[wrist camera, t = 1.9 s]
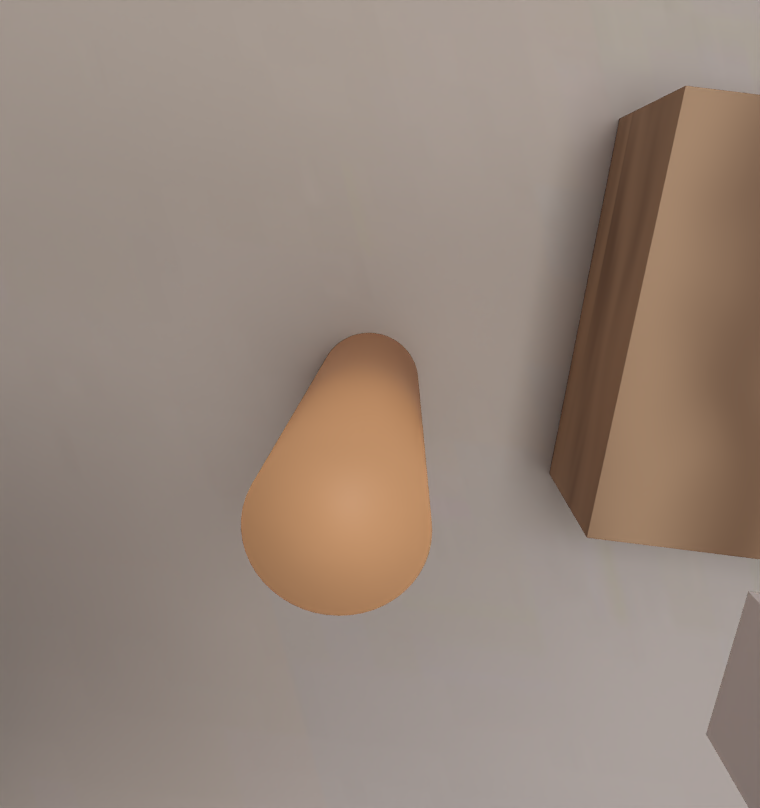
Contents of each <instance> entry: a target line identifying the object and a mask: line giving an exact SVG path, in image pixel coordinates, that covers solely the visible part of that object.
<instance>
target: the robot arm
mask: <svg viewBox="0 0 760 808" xmlns="http://www.w3.org/2000/svg"><path fill="white" fill-rule="evenodd" d="M706 735H707V736H708V738H709V740H710V742H711V743H712V745H713V747H714V748H715V750H716V752H717V754H718V755H719V757H720V759H721V761H722V762H723V764H724V766H725V767H726V769H727V771H728V773H729V774H730V776H731V778H732V780H733V781H734V783H735V785H736V786H737V788H738V790H739V792H740V793H741V795H742V797H743V799H744V800H745V802H746V804H747V805H748V807H749V808H760V593H757V592H749V591H748V594H747V598H746V601H745V605H744V608H743V611H742V615H741V618H740V622H739V625H738V628H737V632H736V635H735V638H734V642H733V645H732V649H731V652H730V655H729V659H728V662H727V665H726V669H725V672H724V676H723V679H722V682H721V686H720V689H719V692H718V696H717V699H716V703H715V706H714V709H713V713H712V716H711V720H710V723H709V726H708V730H707V733H706Z"/></svg>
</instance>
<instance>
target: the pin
mask: <svg viewBox="0 0 760 808" xmlns="http://www.w3.org/2000/svg"><path fill="white" fill-rule="evenodd" d="M241 533H242V540H243V544H244V548H245V551H246V554H247V556H248V559H249V561H250V563H251V565H252V567H253V568H254V570H255V572H256V573H257V574H258V576H259V577H260V578H261V579H262V581H263V582H264V583H265V584H266V585H267V586H268V587H269V588H270V589H271V590H272V591H273V592H275V593H276V594H277V595H279V596H280V597H281V598H283V599H284V600H286V601H288V602H289V603H291V604H293V605H295V606H298V607H300V608H302V609H305V610H308V611H311V612H315V613H320V614H325V615H338V616H340V615H354V614H359V613H364V612H368V611H371V610H374V609H377V608H379V607H381V606H383V605H385V604H387V603H389V602H391V601H392V600H394V599H395V598H397V597H398V596H399V595H401V594H402V593H403V592H404V591H405V590H406V589H407V588H408V587H409V586H410V585H411V584H412V583H413V582H414V580H415V579H416V578H417V576H418V575H419V573H420V572H421V570H422V568H423V566H424V564H425V562H426V559H427V557H428V554H429V550H430V545H431V538H432V522H431V511H430V500H429V490H428V479H427V468H426V458H425V447H424V436H423V426H422V415H421V404H420V394H419V383H418V374H417V369H416V366H415V363H414V361H413V359H412V357H411V356H410V354H409V353H408V351H407V350H406V349H405V348H404V347H403V346H402V345H401V344H400V343H398V342H397V341H395V340H394V339H392V338H390V337H388V336H385V335H381V334H376V333H361V334H356V335H353V336H350V337H348V338H346V339H344V340H343V341H341V342H340V343H338V344H337V345H336V346H335V347H334V348H333V349H332V350H331V352H330V353H329V354H328V356H327V358H326V359H325V361H324V363H323V364H322V366H321V368H320V369H319V371H318V373H317V374H316V376H315V378H314V380H313V381H312V383H311V385H310V386H309V388H308V390H307V391H306V393H305V395H304V397H303V398H302V400H301V402H300V403H299V405H298V407H297V408H296V410H295V412H294V414H293V415H292V417H291V419H290V420H289V422H288V424H287V425H286V427H285V429H284V430H283V432H282V434H281V436H280V437H279V439H278V441H277V442H276V444H275V446H274V447H273V449H272V451H271V453H270V454H269V456H268V458H267V459H266V461H265V463H264V464H263V466H262V468H261V470H260V471H259V473H258V475H257V476H256V478H255V480H254V481H253V483H252V485H251V487H250V489H249V491H248V493H247V495H246V498H245V502H244V505H243V510H242V516H241Z"/></svg>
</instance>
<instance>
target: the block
mask: <svg viewBox="0 0 760 808" xmlns="http://www.w3.org/2000/svg"><path fill="white" fill-rule="evenodd" d="M550 475H551V477H552V479H553V481H554V482H555V484H556V486H557V487H558V489H559V491H560V492H561V494H562V496H563V498H564V499H565V501H566V503H567V504H568V506H569V508H570V509H571V511H572V513H573V515H574V516H575V518H576V520H577V521H578V523H579V525H580V526H581V528H582V530H583V532H584V533H585V535H586V537H587V538H595V539H603V540H611V541H619V542H627V543H635V544H643V545H651V546H659V547H667V548H675V549H683V550H690V551H698V552H706V553H714V554H722V555H730V556H738V557H746V558H754V559H760V95H756V94H748V93H740V92H732V91H724V90H716V89H708V88H700V87H692V86H684V87H682V88H680V89H678V90H676V91H674V92H672V93H670V94H668V95H666V96H664V97H662V98H660V99H658V100H656V101H654V102H652V103H650V104H648V105H646V106H644V107H642V108H640V109H638V110H636V111H634V112H632V113H630V114H628V115H626V116H624V117H622V118H620V119H619V124H618V130H617V135H616V140H615V145H614V150H613V155H612V160H611V165H610V170H609V175H608V180H607V185H606V190H605V195H604V200H603V205H602V211H601V216H600V221H599V226H598V231H597V236H596V241H595V246H594V251H593V256H592V261H591V266H590V271H589V276H588V281H587V286H586V292H585V297H584V302H583V307H582V312H581V317H580V322H579V327H578V332H577V337H576V342H575V347H574V352H573V357H572V362H571V367H570V373H569V378H568V383H567V388H566V393H565V398H564V403H563V408H562V413H561V418H560V423H559V428H558V433H557V438H556V443H555V448H554V454H553V459H552V464H551V469H550Z"/></svg>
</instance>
